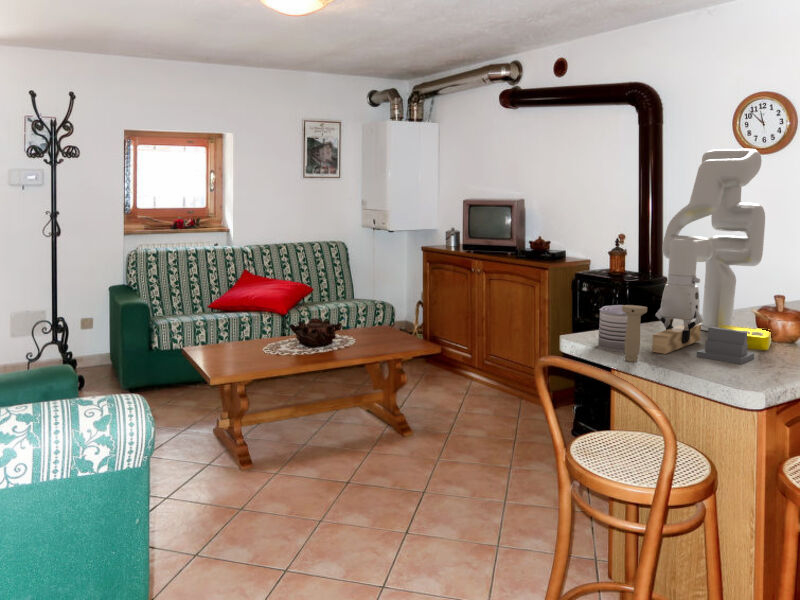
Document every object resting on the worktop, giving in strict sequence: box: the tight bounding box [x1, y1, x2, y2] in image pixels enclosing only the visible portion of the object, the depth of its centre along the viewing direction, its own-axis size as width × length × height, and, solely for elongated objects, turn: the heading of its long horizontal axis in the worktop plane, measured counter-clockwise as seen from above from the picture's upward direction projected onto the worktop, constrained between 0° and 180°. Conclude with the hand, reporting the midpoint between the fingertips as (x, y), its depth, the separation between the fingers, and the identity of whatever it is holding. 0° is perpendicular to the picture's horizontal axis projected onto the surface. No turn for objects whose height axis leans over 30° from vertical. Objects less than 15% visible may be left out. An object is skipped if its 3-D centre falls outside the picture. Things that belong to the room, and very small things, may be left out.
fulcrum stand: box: [696, 327, 755, 365], centre depth 200 cm, size 10×12×8 cm
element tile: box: [718, 325, 772, 351], centre depth 220 cm, size 15×15×5 cm
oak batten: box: [651, 323, 702, 355], centre depth 212 cm, size 24×4×5 cm, turn 135°
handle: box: [622, 304, 648, 363], centre depth 194 cm, size 5×6×15 cm
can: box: [597, 304, 628, 353], centre depth 211 cm, size 11×11×12 cm
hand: (677, 340), depth 212 cm, fingers closed on oak batten, 4 cm apart
